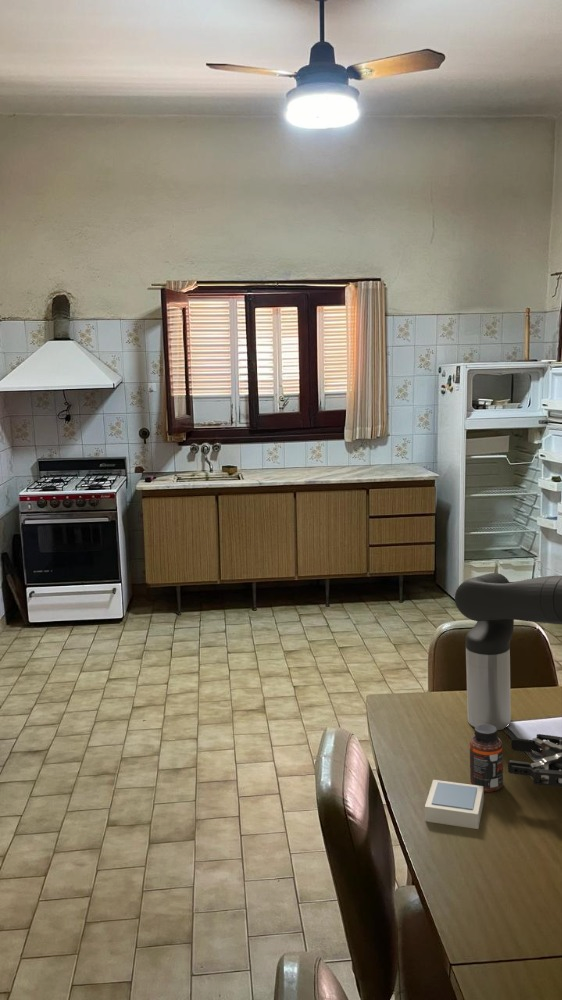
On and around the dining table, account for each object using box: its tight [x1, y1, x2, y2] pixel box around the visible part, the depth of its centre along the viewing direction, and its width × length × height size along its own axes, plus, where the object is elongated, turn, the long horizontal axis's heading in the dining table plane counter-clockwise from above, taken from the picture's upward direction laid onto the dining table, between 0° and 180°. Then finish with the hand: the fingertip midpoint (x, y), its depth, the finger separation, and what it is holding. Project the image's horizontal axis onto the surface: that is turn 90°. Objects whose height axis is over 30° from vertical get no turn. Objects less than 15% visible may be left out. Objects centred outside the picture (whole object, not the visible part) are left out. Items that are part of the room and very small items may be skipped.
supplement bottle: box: [469, 724, 504, 793], centre depth 140 cm, size 6×6×11 cm
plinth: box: [424, 779, 485, 830], centre depth 133 cm, size 9×9×3 cm
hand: (509, 755), depth 138 cm, fingers open, 8 cm apart
